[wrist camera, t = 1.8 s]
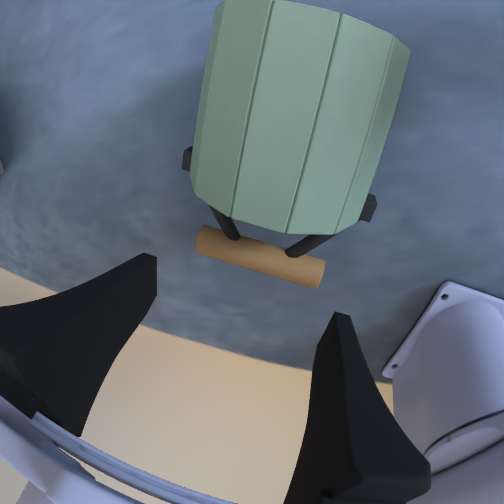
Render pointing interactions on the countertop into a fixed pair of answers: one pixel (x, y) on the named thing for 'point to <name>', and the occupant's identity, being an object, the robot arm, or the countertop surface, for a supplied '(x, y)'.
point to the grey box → (1, 168)
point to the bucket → (290, 129)
